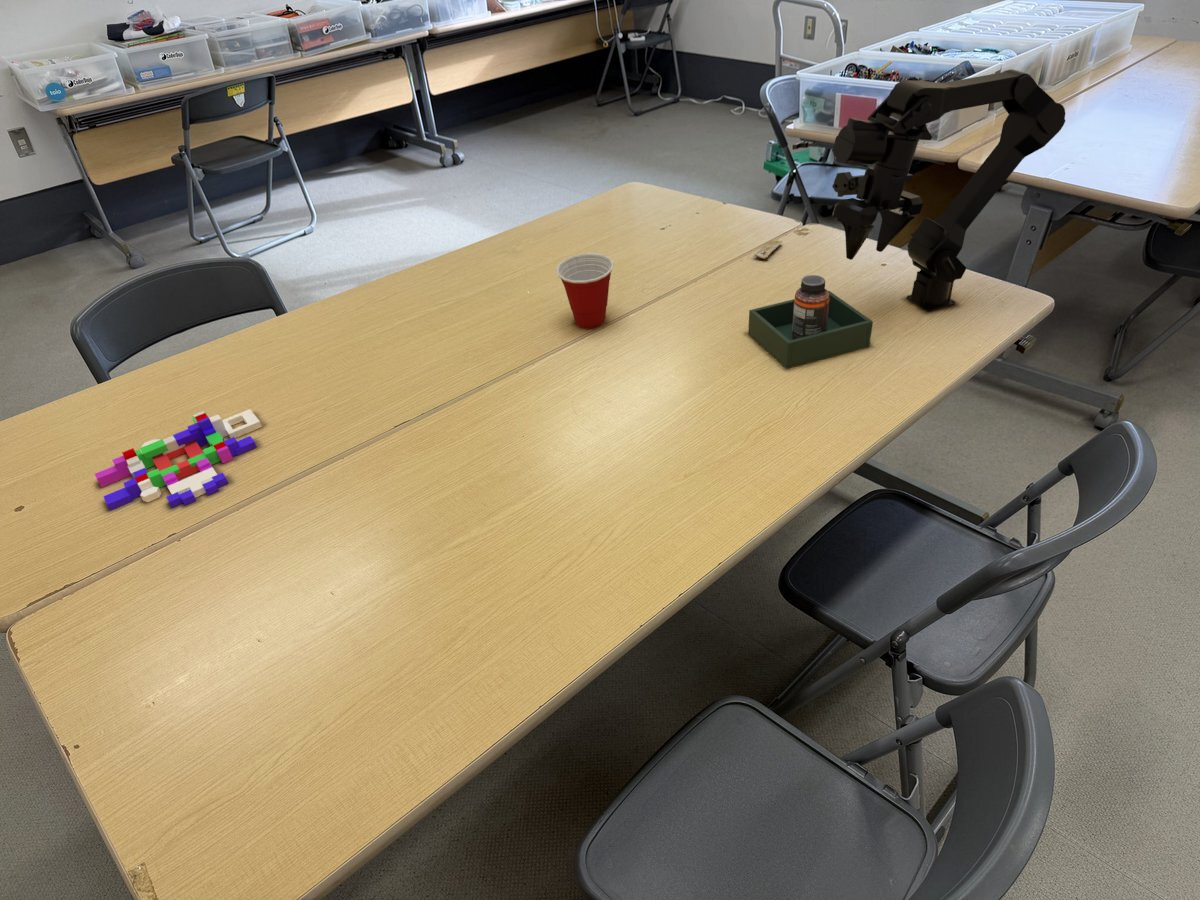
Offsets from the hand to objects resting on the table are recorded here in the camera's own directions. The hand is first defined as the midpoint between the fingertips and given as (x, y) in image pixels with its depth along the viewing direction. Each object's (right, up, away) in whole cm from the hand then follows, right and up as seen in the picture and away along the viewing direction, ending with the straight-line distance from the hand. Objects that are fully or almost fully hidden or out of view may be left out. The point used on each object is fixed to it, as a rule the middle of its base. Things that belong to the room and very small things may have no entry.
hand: (864, 254), depth 139 cm
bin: (-10, -15, +2) cm, 18 cm away
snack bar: (-10, +9, +33) cm, 36 cm away
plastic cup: (-49, -10, +14) cm, 52 cm away
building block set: (-112, -37, -15) cm, 119 cm away
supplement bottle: (-9, -15, +2) cm, 18 cm away
